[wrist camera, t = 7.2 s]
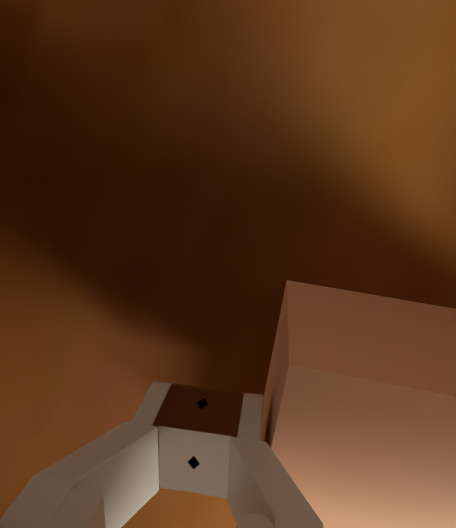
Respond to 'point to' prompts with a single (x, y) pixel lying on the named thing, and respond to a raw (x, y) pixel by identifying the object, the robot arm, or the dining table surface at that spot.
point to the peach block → (365, 407)
